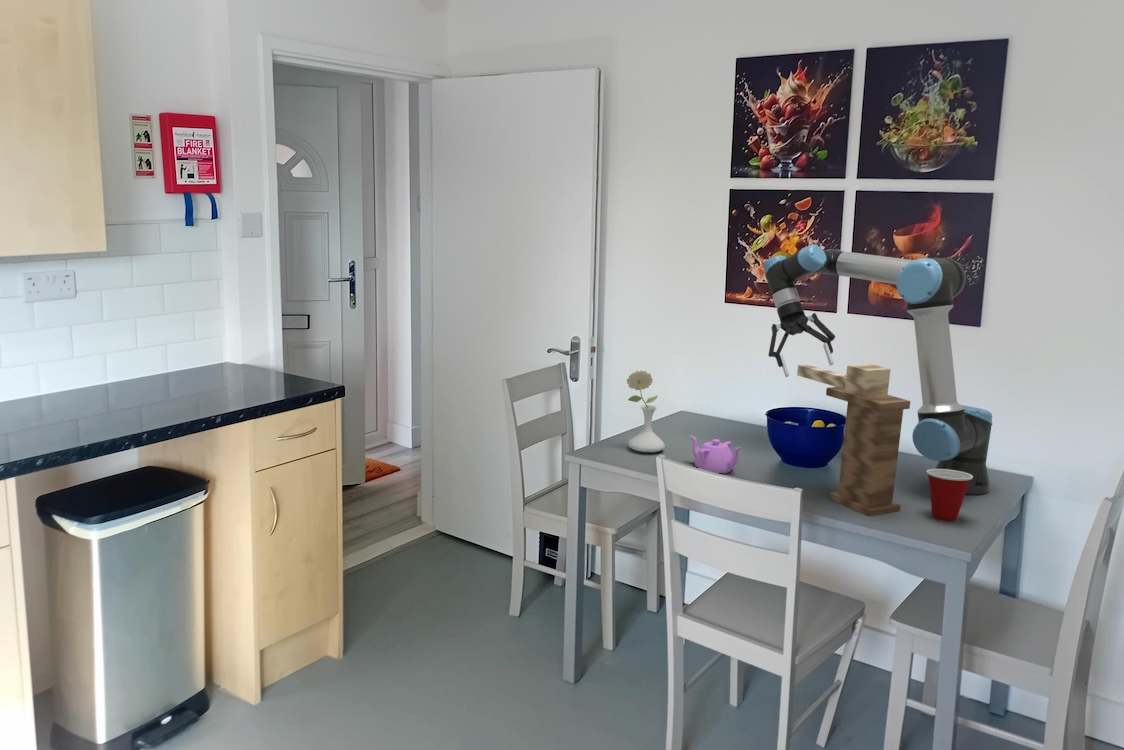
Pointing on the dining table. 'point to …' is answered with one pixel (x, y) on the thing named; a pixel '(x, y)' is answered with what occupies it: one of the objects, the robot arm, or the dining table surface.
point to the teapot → (715, 455)
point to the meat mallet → (852, 379)
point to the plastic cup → (947, 492)
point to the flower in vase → (646, 437)
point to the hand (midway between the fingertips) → (809, 370)
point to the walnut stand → (869, 452)
